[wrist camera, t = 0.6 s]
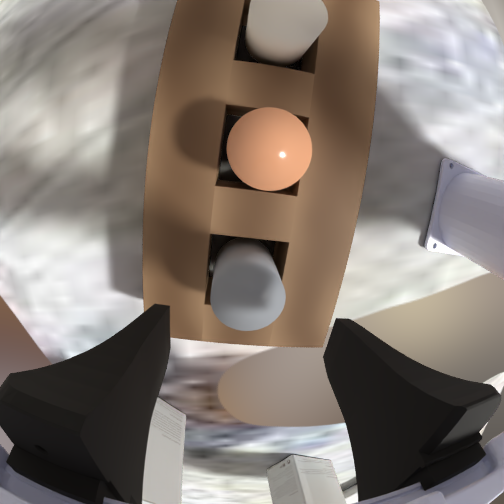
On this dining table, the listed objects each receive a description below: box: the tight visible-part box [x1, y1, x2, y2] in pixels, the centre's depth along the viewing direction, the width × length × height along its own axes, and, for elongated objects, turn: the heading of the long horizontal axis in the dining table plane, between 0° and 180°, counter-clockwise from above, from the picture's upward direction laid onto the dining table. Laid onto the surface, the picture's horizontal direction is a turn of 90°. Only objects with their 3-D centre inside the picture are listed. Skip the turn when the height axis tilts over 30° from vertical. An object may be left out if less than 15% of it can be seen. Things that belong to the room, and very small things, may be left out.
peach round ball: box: [227, 107, 312, 191], centre depth 13 cm, size 4×4×4 cm
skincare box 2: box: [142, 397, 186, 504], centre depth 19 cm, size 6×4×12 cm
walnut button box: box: [143, 0, 380, 347], centre depth 16 cm, size 12×24×4 cm, turn 172°
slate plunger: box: [210, 238, 286, 331], centre depth 16 cm, size 4×4×4 cm
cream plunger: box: [245, 0, 328, 67], centre depth 11 cm, size 4×4×4 cm
